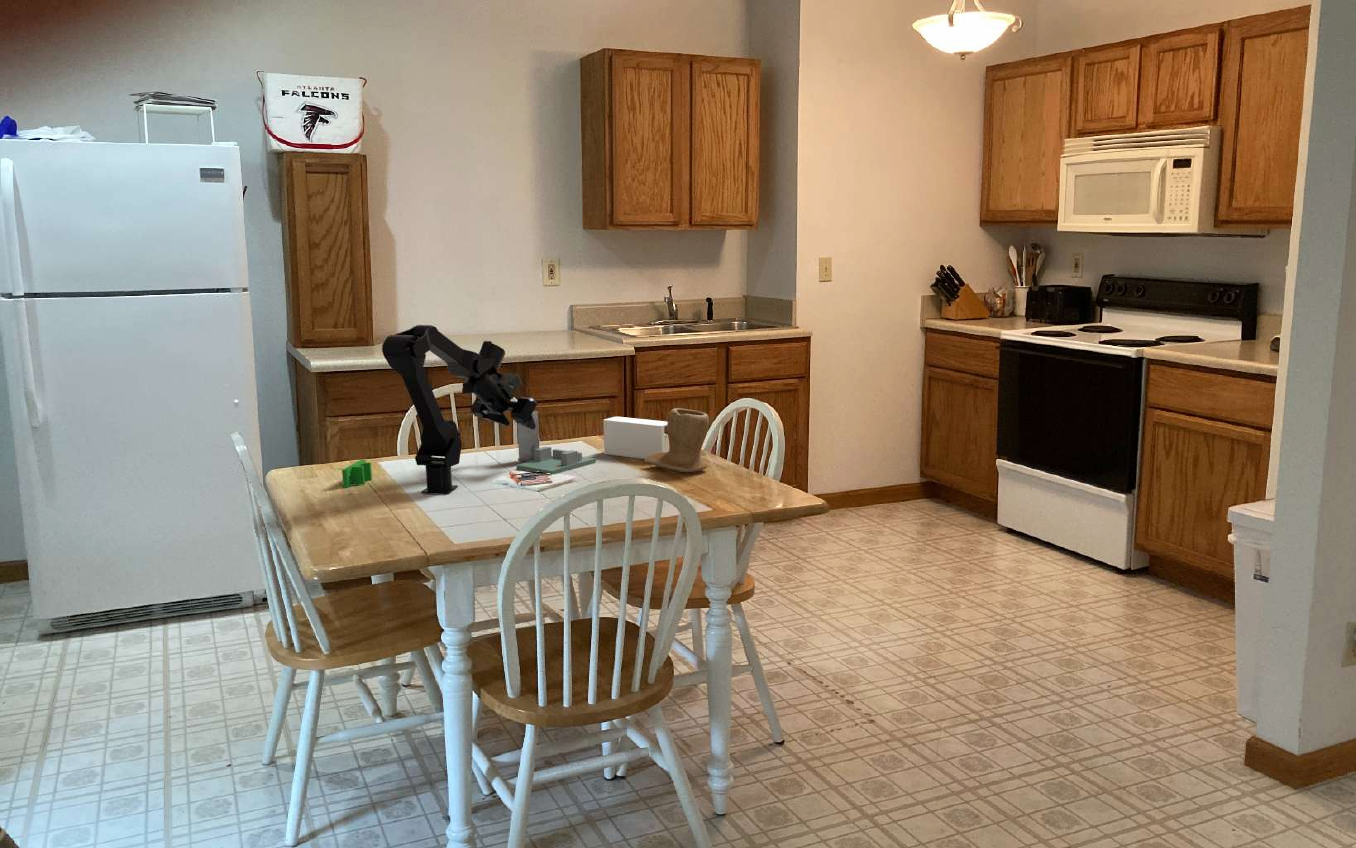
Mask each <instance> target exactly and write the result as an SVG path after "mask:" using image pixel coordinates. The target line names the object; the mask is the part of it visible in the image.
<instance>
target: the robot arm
mask: <svg viewBox="0 0 1356 848" xmlns="http://www.w3.org/2000/svg"><path fill="white" fill-rule="evenodd" d="M429 351H430V352H431V353H432V354H433V355H435V356H437V357H438V358H439V359H440V360H442V361H444V362H445V364H446V369H447V370H448V371H449V372H450V373H451V374H452V376H454V377H455V378H463V379H464V378H465V381H464V382H463V383H462V389H461V392H462V394H463V395H464V394H465V395H466V394H474V395H475V396H476V398H475V399H474V401H473V403H472V404H471V405H470V413H471V414H472V415H473V416H474V417H477V418H480V419H483V420H486V421H490V422H493V423H496V424H500V425H502V426H505V427H509V426H510V424H511V422H510V420H509V419H508V418H507V416H506V415H505V414H504V412H506V411H509V412H510V418H511V419H512V420H513V421H515V423H516V424H517V423H518V424H520V425H523V426H525V427H527V428H530V429H532V430H534V429H535V428H536V425H535V422H534V419H533V416H532V413H533V411H535V410H536V407H537V405H538V403H537V401H536V400H535V399H534V398H533V397H526V396H525V397H524V396H521V397H519V398H518V399H517V400H516V401H513V399H514V397H515V396H516V395H515V392H516V391H517V390H518V389H520V388H521V387H523V382H522V380H521V377H520V374H519V373H518V372H516V373H515V372H503V373H502V372H499V371H500V370H499V369H500V367H501V365H502V362H503V360H504V358H505V355H506V351H505V349H504V348H503V347H501V346H500V345H497V344H495V343H493V341H492V340H483V341H482V344H481V348H480V350H479V353H477V352H475V351H473V350H469V349H465V348H462V347H460V346H459V345H457V344H456V343H455V342H453V340H452V339H450V338H449V337H448V336H446V335H445V334H443V333H442V332H440V330H439V329H438V328H437V327H436V326H434V325H431V324H416V325H414V326H412V327H411V328H409V329H407V330H403V331H401V332H397V333H394V334H389V335H388V336H387V337H386V338H385V340H384V341H383V343H382V346H381V352H382V355H383V357H384V359H385V361H386V362H387V364H388V366H389V367H390V368H391V369H393V370H394V371H395V372H396V373H397V374H398V375H400V376H401V379H402V381H403V383H404V385H405V388H406V390H407V393H408V395H409V397H410V399H411V402H412V404H413V406H414V409H415V412H416V414H417V416H418V418H419V420H420V423H421V426H422V429H421V433H420V438H419V439H420V442H421V444H420V446H419V448H418V450H417V452H416V454H415V456H414V459H415V460H414V461H415V463H416V465H417V466H425V477H426V480H425V481H426V487H425V488H424V489H422V490H421V494H436V495H437V494H439V495H441V494H442V495H443V494H444V495H449V494H450V493H451V492H453V491H455V490H456V489H458V487H459V486H458V485H456V484H454V485H453V479H452V478H453V477H452V467H453V466H456V465H459V464H460V459H461V453H462V446H463V445H462V440H461V437H460V436H461V433H460V432H459V430H458V429H459V428H458V426H457V423H456V422H455V421H454V420H446V419H445V418H444V416H443V413H442V411H441V409H440V406H439V404H438V402H437V401H438V400H437V399H436V396H435V394H434V391H433V389H432V386H431V383H430V381H429V378H428V375H427V373H426V372H425V368H424V365H425V362H426V358H427V355H426V353H428V352H429ZM491 376H492V377H491Z"/></svg>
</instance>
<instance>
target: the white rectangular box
mask: <svg viewBox="0 0 1356 848" xmlns="http://www.w3.org/2000/svg"><path fill="white" fill-rule="evenodd" d="M602 421H603V422H602V423H603V447H604V448H603V449H604V455H609V456H616V457H617V456H618V457H625V458H631V459H638V460H640V459H641V460H645V458H646V457H647V456H649V455H651V454H653V453H657V452H668V451H669V438H668V434H665V427H667V421H666V420H663V421H662V420H656V419H655V420H654V419H653V420H652V419H645V418H634V417H624V416H612V417H608V418H605V419H603V420H602Z"/></svg>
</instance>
